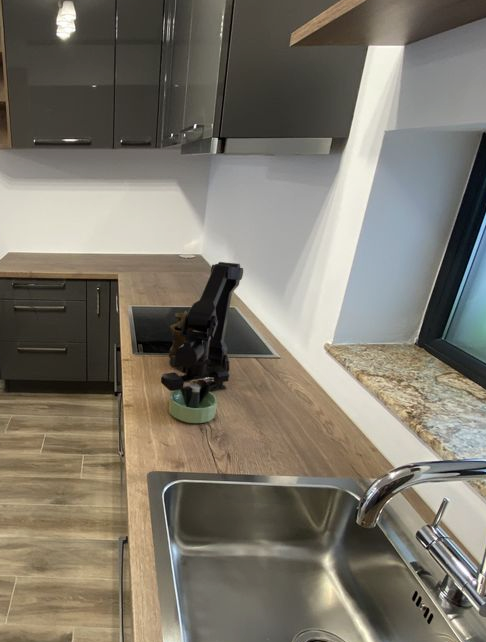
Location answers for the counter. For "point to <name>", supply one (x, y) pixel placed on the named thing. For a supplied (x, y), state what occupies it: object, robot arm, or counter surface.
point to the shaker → (194, 396)
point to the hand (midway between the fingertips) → (192, 404)
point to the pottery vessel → (178, 333)
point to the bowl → (192, 414)
